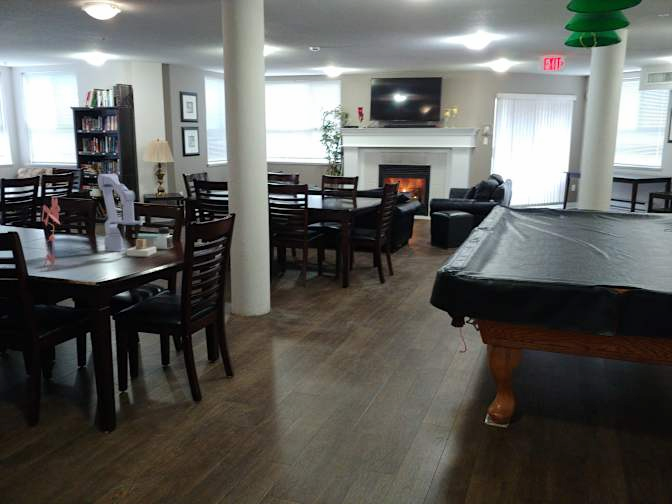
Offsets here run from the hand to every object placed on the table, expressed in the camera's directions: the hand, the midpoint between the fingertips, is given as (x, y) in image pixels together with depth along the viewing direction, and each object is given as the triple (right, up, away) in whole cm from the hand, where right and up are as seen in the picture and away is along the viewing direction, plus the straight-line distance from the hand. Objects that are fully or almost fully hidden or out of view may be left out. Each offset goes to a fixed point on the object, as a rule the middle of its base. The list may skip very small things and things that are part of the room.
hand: (129, 237), depth 322 cm
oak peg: (+5, -9, +4) cm, 11 cm away
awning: (+6, -7, +14) cm, 17 cm away
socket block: (+5, -9, +4) cm, 11 cm away
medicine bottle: (+12, -6, +24) cm, 28 cm away
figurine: (-25, -15, -27) cm, 40 cm away
